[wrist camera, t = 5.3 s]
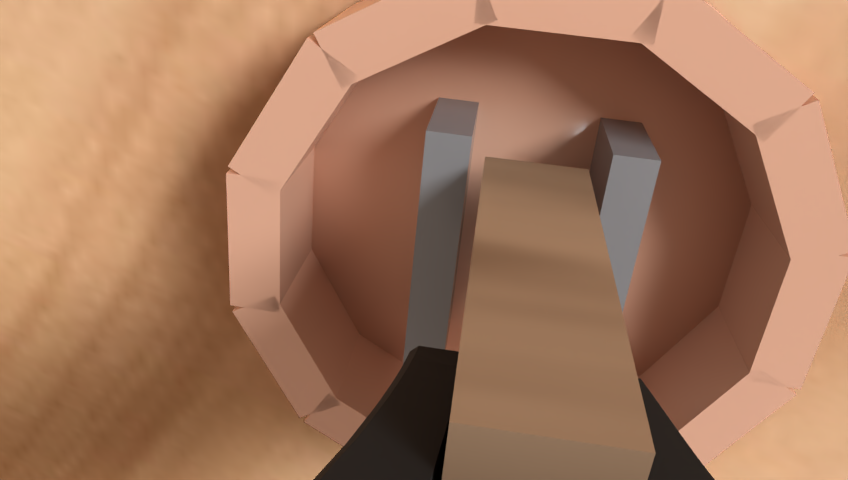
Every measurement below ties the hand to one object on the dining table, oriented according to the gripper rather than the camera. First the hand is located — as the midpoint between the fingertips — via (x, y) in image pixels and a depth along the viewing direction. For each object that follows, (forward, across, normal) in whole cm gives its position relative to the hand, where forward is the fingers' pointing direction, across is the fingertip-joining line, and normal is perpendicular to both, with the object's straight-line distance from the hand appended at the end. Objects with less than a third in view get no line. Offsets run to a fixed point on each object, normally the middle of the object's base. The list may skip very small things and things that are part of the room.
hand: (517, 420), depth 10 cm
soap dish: (+7, 0, 0) cm, 7 cm away
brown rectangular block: (+4, 0, 0) cm, 4 cm away
